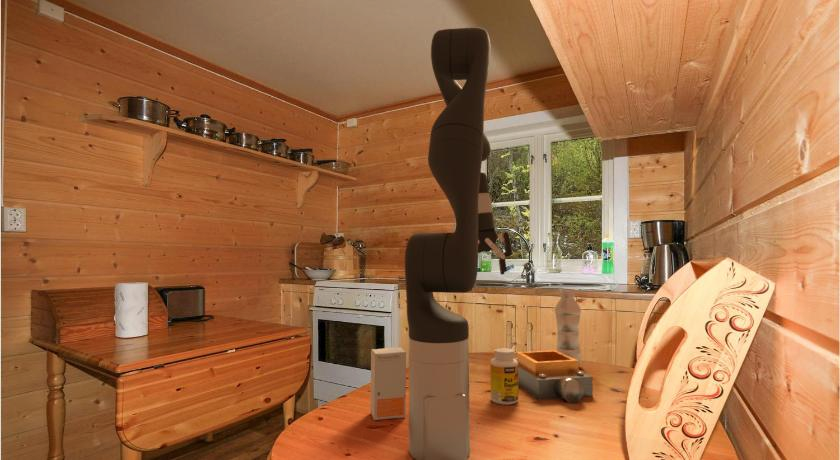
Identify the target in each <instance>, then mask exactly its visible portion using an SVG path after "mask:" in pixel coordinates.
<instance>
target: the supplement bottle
mask: <svg viewBox="0 0 840 460" xmlns="http://www.w3.org/2000/svg"><path fill="white" fill-rule="evenodd" d="M493 353H494V354H493V358H491V359H490V362H489V363H490V371H489V372H490V399H491V401H492V402H493V403H496V404H498V405H505V406H510V405H513V404H516V403H517V402H518V401H519V385H518V361H517V360H516V359H514V358H515V350H514V349H512V348H510V347H509V348H507V347H499V348H498V347H497V348H494V351H493Z"/></svg>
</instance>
